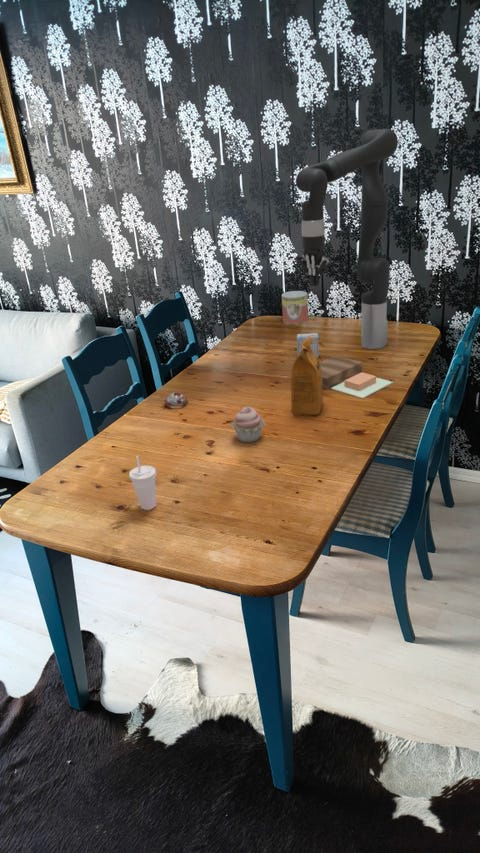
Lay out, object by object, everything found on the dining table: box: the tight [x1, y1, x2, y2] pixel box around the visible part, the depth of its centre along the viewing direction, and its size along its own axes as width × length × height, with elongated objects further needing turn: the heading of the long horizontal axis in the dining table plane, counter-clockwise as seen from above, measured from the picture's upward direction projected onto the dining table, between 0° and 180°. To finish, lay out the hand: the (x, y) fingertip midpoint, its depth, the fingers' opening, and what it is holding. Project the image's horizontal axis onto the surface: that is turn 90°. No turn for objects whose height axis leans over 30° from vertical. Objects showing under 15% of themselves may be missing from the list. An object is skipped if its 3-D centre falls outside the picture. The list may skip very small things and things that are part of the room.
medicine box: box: [296, 332, 320, 359], centre depth 232 cm, size 8×4×9 cm, turn 84°
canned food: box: [281, 290, 309, 325], centre depth 274 cm, size 11×11×12 cm
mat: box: [330, 376, 394, 400], centre depth 205 cm, size 16×13×1 cm
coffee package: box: [290, 337, 324, 416], centre depth 188 cm, size 10×12×22 cm
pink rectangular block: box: [344, 371, 377, 391], centre depth 205 cm, size 9×6×2 cm, turn 132°
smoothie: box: [128, 455, 157, 511], centre depth 147 cm, size 6×6×14 cm
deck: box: [319, 355, 363, 391], centre depth 213 cm, size 18×12×4 cm, turn 132°
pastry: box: [164, 390, 189, 410], centre depth 203 cm, size 8×8×5 cm
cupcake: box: [231, 406, 265, 444], centre depth 176 cm, size 9×9×10 cm
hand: (314, 285), depth 213 cm, fingers closed
